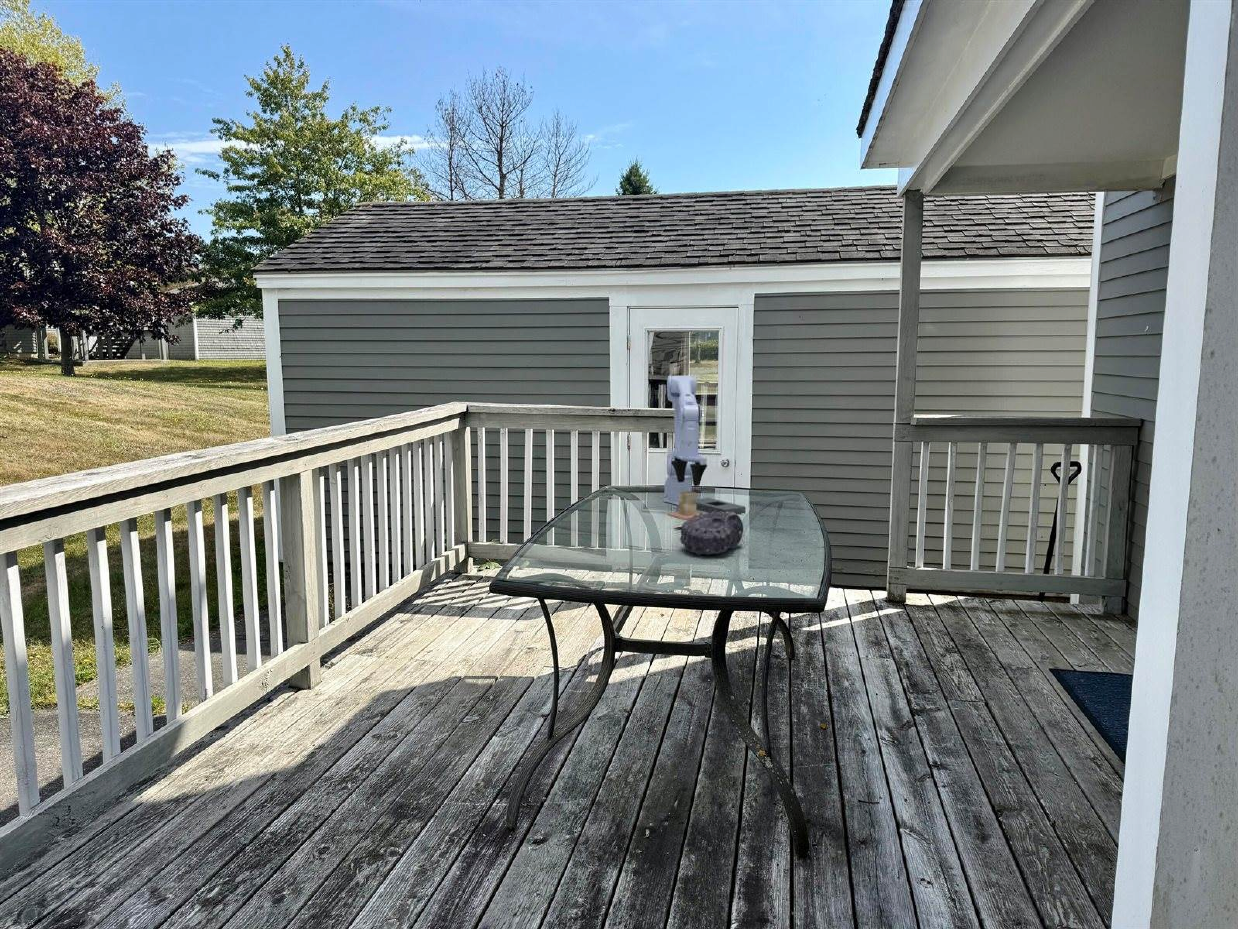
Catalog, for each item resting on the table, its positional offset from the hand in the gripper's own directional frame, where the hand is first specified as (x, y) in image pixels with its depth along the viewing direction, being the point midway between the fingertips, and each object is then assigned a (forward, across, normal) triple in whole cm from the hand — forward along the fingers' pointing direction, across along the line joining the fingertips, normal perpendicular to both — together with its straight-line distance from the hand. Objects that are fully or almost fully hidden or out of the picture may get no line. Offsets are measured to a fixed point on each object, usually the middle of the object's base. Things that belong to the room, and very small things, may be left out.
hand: (688, 483), depth 274 cm
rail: (+10, -1, +13) cm, 17 cm away
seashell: (+11, +37, -23) cm, 45 cm away
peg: (+10, 0, 0) cm, 10 cm away
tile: (+10, 0, -1) cm, 10 cm away
